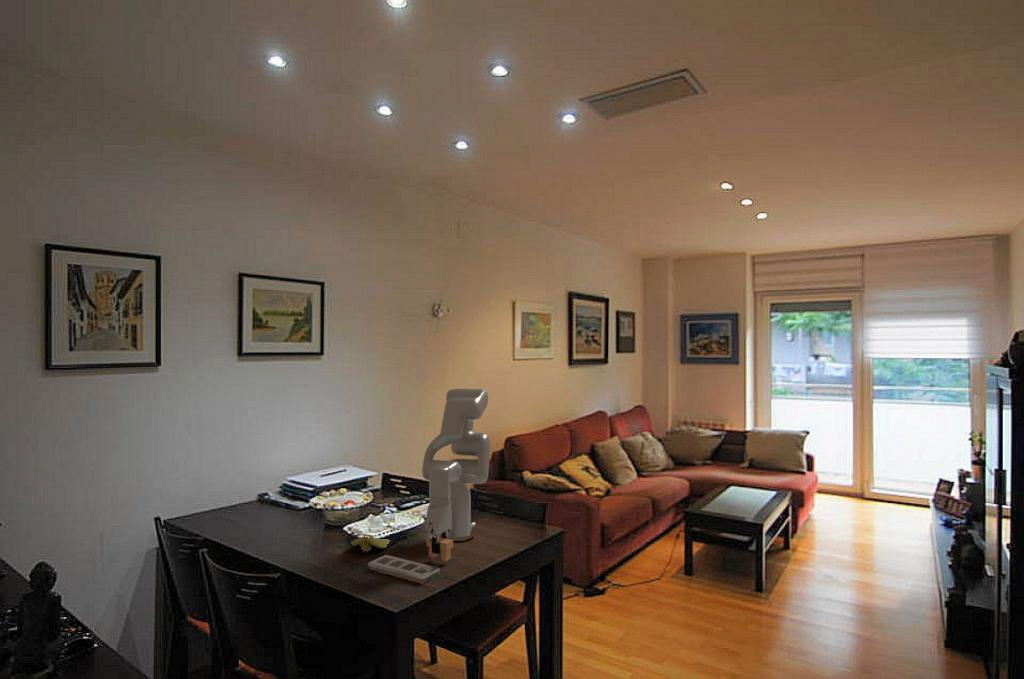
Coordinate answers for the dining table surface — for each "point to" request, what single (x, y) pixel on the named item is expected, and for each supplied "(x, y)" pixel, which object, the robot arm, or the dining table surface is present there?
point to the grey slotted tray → (403, 566)
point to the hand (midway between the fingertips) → (439, 550)
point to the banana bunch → (371, 542)
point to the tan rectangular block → (444, 546)
